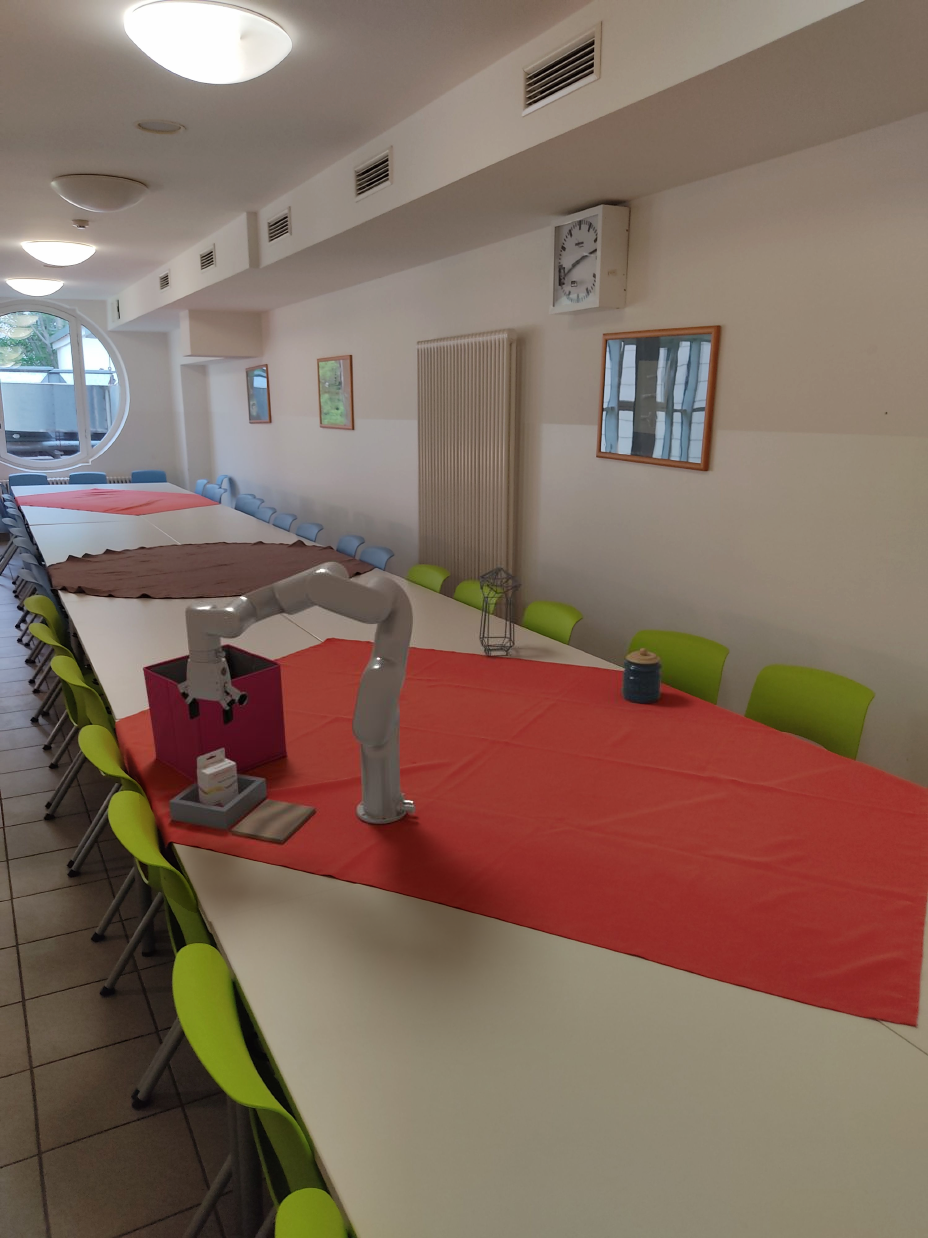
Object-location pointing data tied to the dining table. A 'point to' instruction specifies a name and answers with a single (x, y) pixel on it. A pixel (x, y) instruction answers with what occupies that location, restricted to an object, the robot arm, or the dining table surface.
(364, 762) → the robot arm
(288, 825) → the walnut mat
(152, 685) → the storage bin
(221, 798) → the ink cartridge box
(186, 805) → the gray rectangular frame
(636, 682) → the canister
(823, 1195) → the dining table surface
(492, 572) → the geometric lantern
